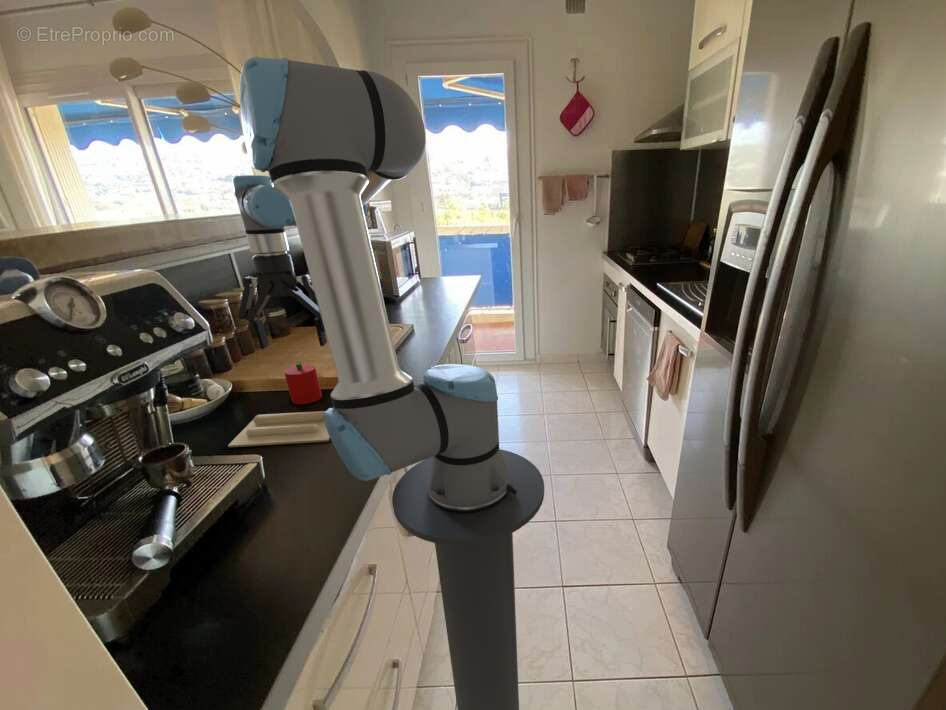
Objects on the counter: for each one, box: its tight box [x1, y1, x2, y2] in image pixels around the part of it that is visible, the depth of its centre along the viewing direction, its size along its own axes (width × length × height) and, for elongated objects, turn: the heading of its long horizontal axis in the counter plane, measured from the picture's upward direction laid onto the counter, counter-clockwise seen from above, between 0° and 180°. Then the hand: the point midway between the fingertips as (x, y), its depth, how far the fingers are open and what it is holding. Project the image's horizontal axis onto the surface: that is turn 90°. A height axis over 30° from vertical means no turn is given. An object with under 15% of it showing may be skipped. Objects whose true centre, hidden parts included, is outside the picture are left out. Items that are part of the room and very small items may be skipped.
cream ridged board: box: [227, 410, 331, 448], centre depth 99 cm, size 20×14×2 cm
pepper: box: [283, 362, 323, 405], centre depth 112 cm, size 7×7×9 cm
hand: (294, 345), depth 107 cm, fingers open, 13 cm apart
